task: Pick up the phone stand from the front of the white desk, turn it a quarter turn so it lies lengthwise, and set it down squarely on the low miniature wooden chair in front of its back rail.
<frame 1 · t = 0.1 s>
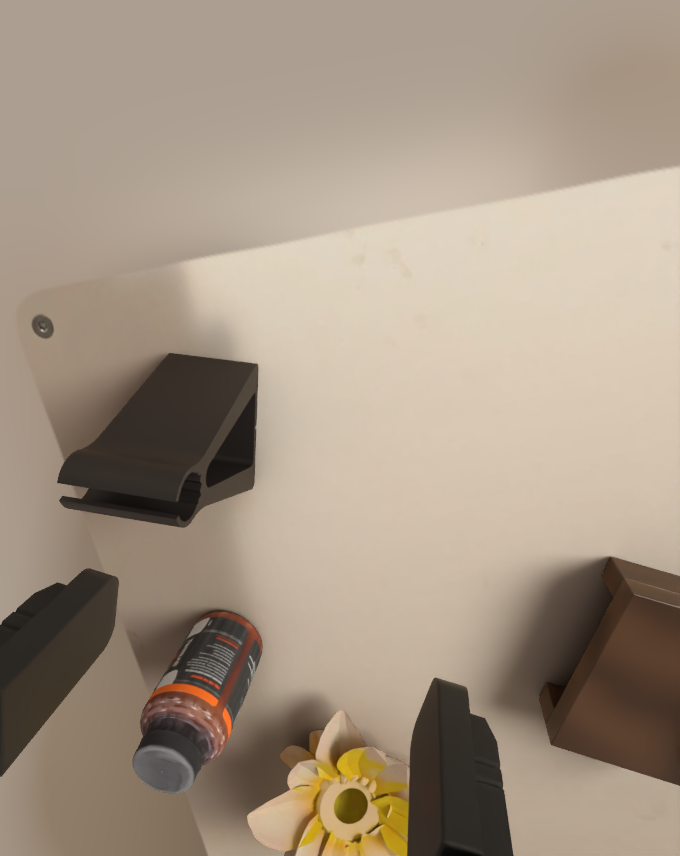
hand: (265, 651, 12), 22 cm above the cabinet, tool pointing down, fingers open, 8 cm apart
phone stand: (215, 420, 35), on the cabinet
decorative flower: (368, 765, 44), on the cabinet
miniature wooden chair: (650, 654, 36), on the cabinet
supplement bottle: (230, 636, 41), on the cabinet
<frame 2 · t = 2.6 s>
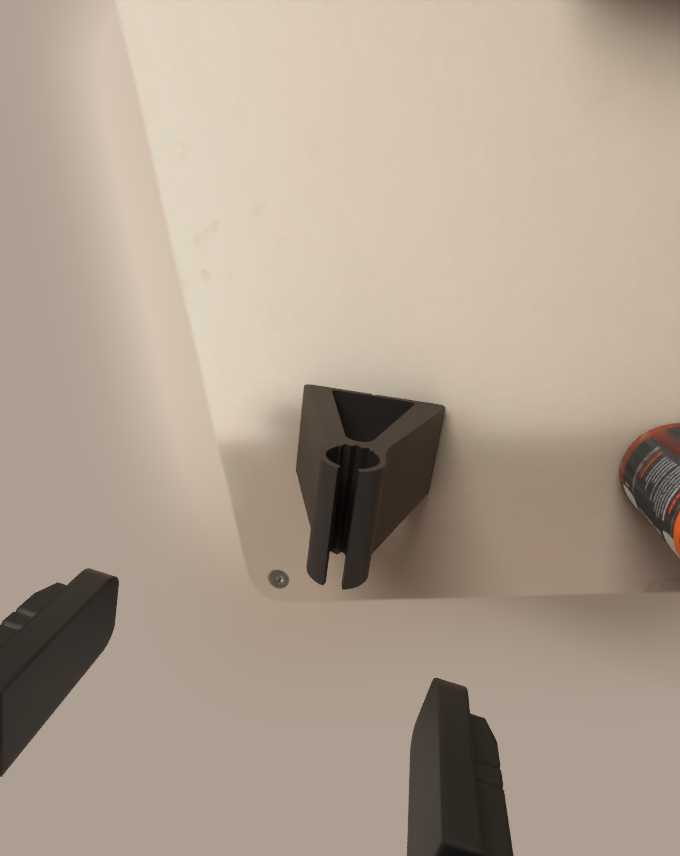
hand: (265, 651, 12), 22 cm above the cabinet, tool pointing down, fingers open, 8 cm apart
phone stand: (368, 436, 34), on the cabinet
supplement bottle: (667, 465, 31), on the cabinet
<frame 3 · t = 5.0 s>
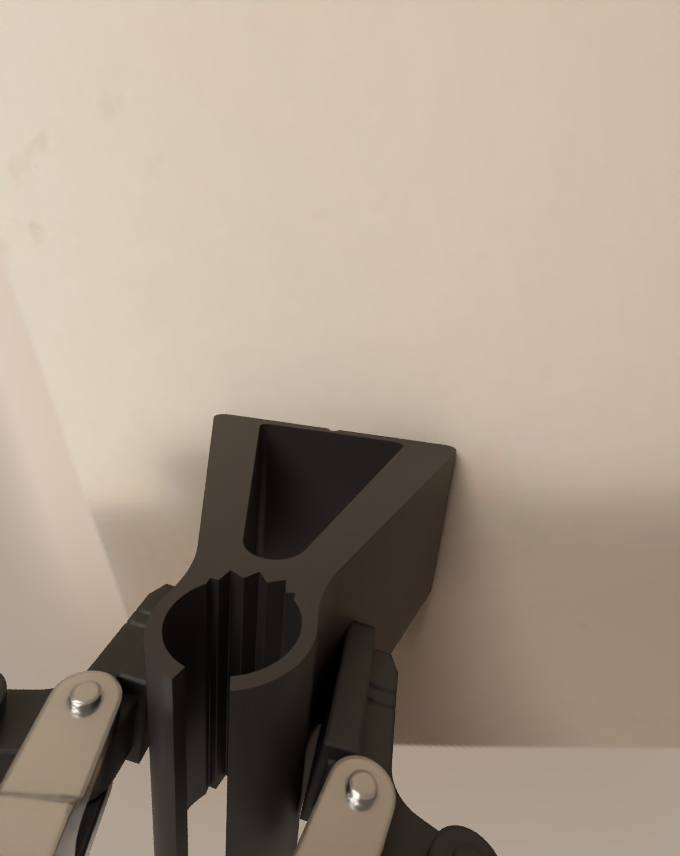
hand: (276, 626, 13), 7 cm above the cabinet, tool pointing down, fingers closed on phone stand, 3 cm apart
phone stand: (328, 498, 20), on the cabinet, touching gripper
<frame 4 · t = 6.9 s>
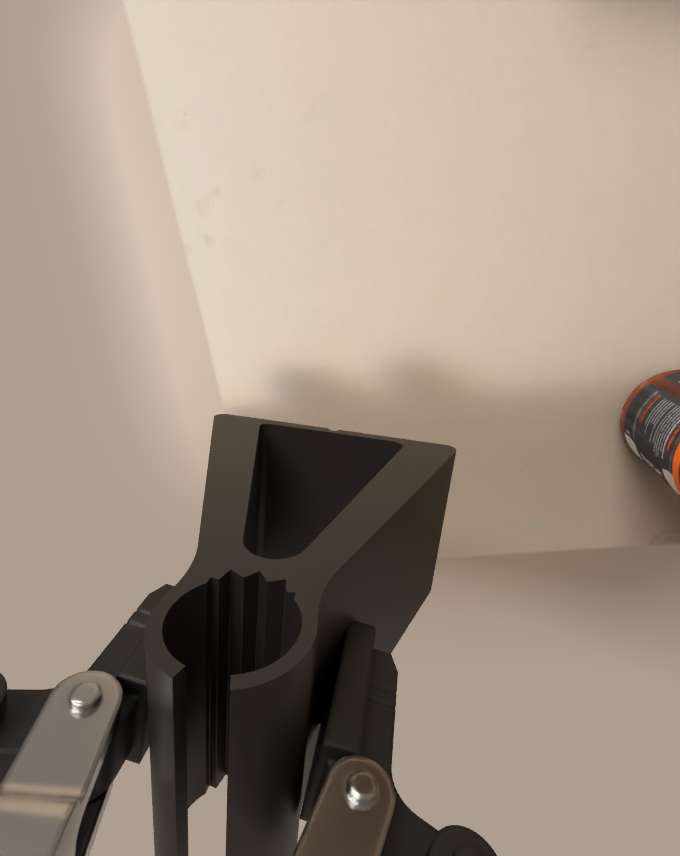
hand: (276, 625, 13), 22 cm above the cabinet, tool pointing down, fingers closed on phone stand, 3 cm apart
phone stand: (328, 498, 20), point 15 cm above the cabinet, touching gripper
supplement bottle: (668, 413, 32), on the cabinet
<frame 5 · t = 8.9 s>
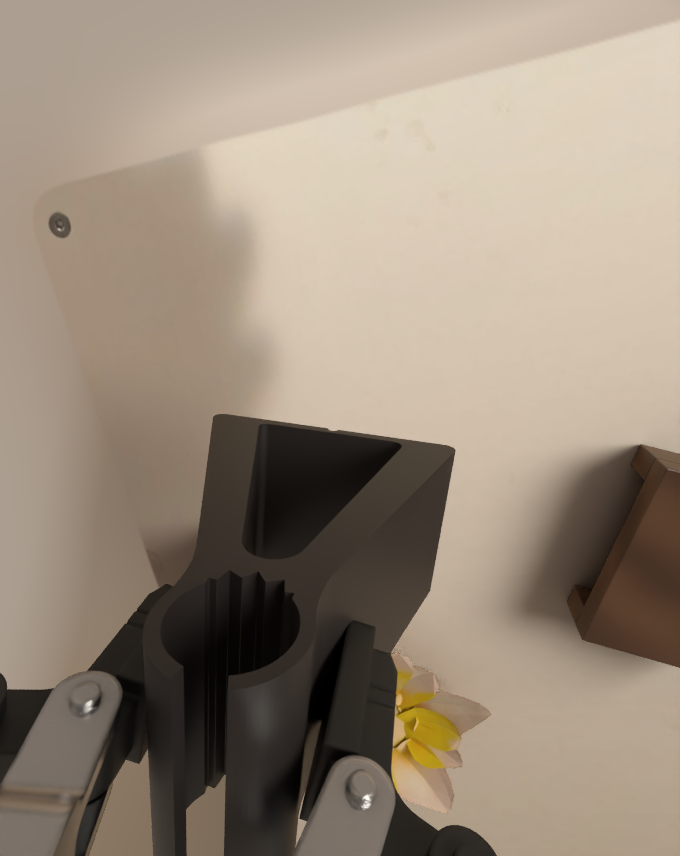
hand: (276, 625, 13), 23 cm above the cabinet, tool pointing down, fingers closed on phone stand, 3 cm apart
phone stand: (327, 498, 20), point 16 cm above the cabinet, touching gripper
decorative flower: (393, 684, 43), on the cabinet
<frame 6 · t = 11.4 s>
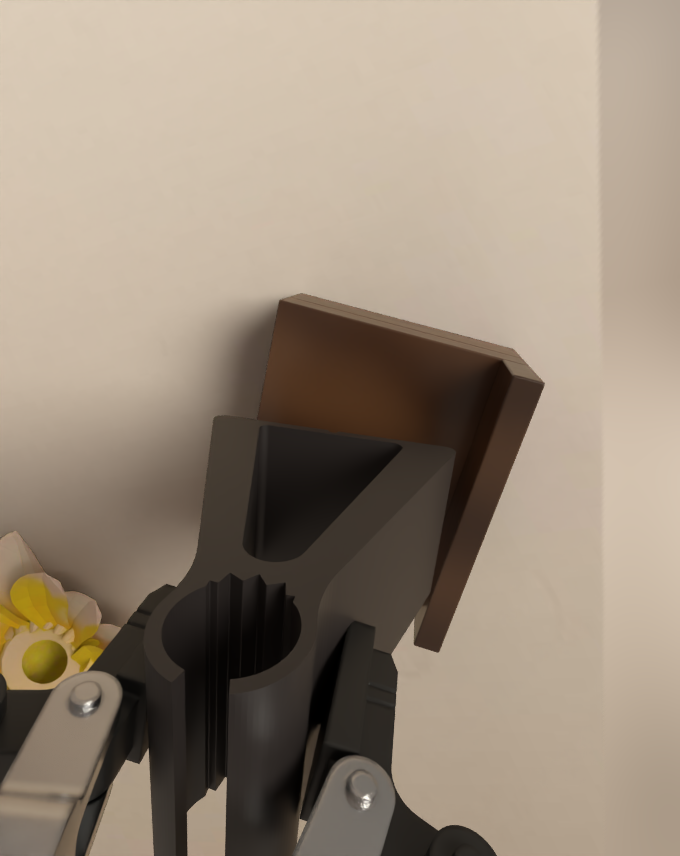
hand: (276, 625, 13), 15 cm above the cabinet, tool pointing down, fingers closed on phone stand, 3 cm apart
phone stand: (327, 499, 20), point 8 cm above the cabinet, touching gripper
decorative flower: (89, 622, 36), on the cabinet
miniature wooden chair: (372, 438, 28), on the cabinet
when the fingers open (11 cm above the cabinet, at t = 13.1 s): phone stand stays where it is, resting on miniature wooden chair.
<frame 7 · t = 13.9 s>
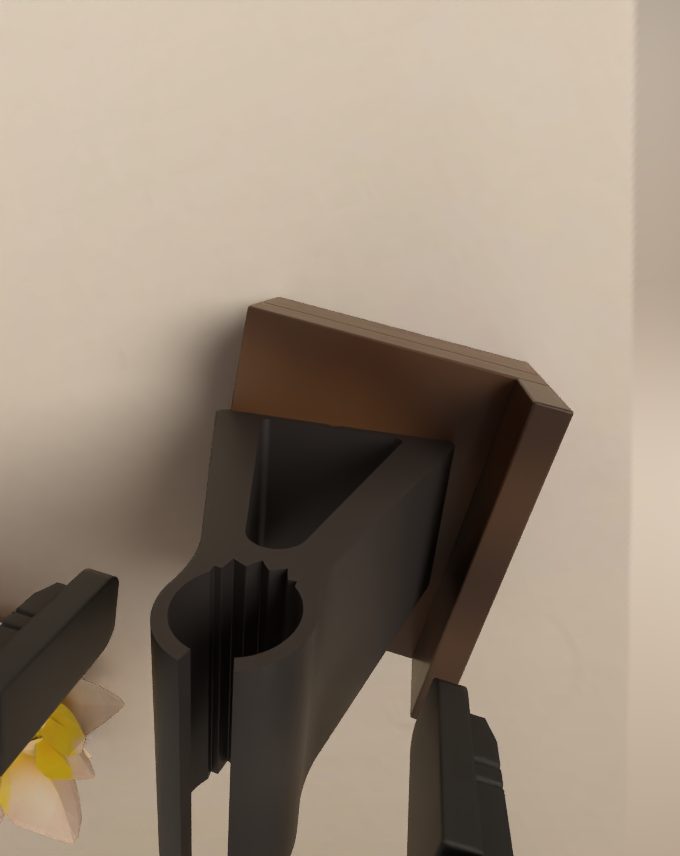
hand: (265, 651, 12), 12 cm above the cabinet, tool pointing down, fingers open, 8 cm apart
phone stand: (328, 493, 20), point 4 cm above the cabinet, touching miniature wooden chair
decorative flower: (49, 663, 32), on the cabinet
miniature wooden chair: (363, 464, 24), on the cabinet
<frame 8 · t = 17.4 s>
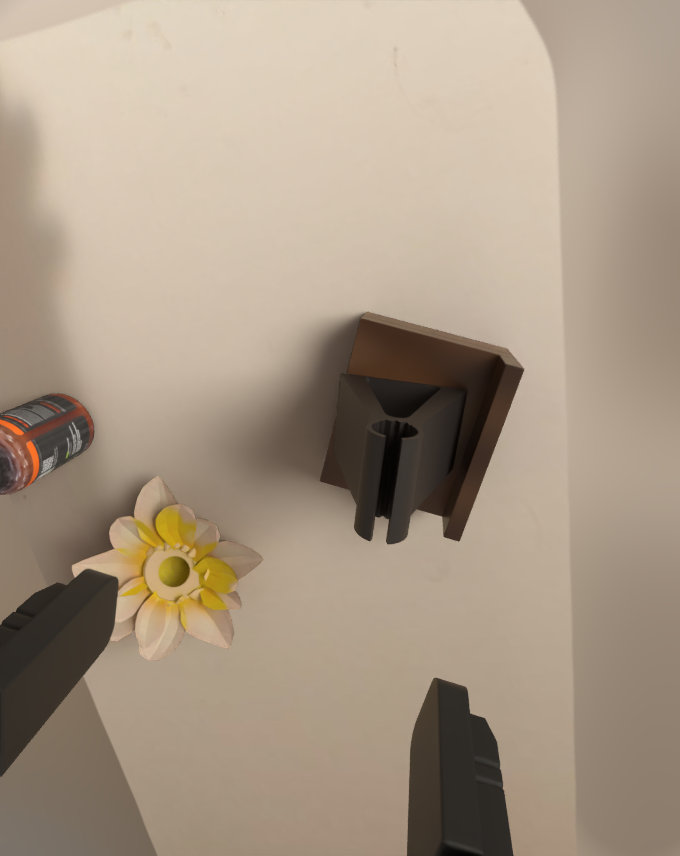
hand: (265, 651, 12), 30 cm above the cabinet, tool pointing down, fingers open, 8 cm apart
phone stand: (397, 419, 37), point 4 cm above the cabinet, touching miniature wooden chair
decorative flower: (199, 547, 49), on the cabinet
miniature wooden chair: (412, 409, 41), on the cabinet
supplement bottle: (68, 422, 47), on the cabinet
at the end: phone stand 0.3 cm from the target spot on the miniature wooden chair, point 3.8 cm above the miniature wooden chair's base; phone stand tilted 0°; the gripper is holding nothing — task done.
